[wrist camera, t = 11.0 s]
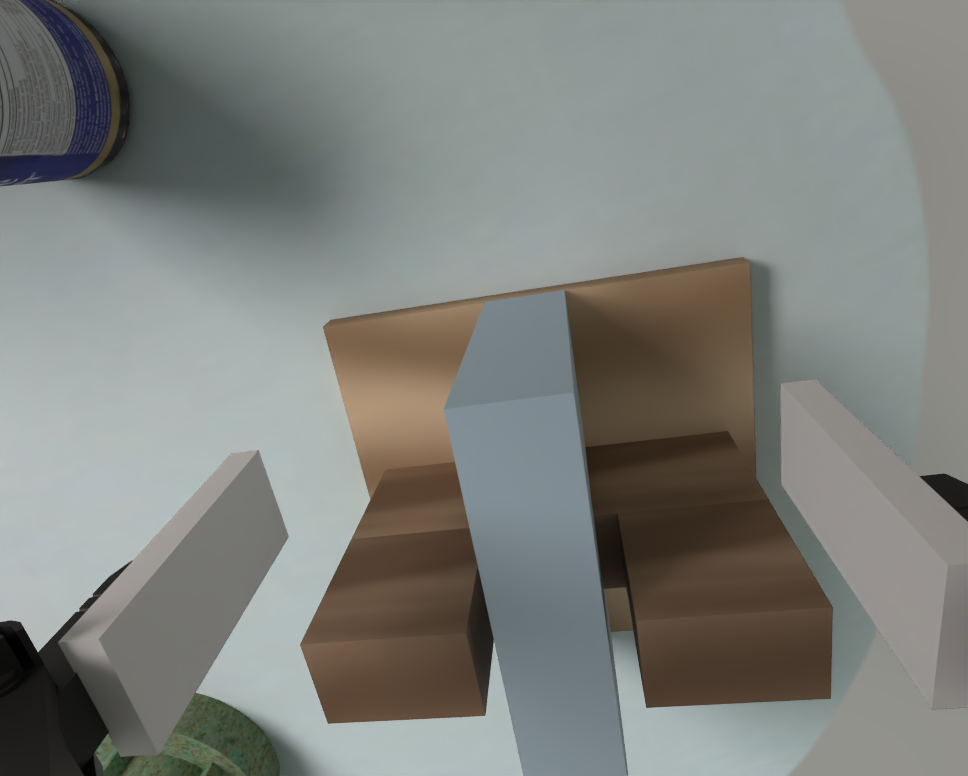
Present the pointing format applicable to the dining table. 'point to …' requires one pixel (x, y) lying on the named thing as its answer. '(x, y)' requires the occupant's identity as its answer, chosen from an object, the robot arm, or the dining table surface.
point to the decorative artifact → (201, 746)
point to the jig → (615, 501)
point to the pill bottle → (56, 95)
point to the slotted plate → (537, 535)
